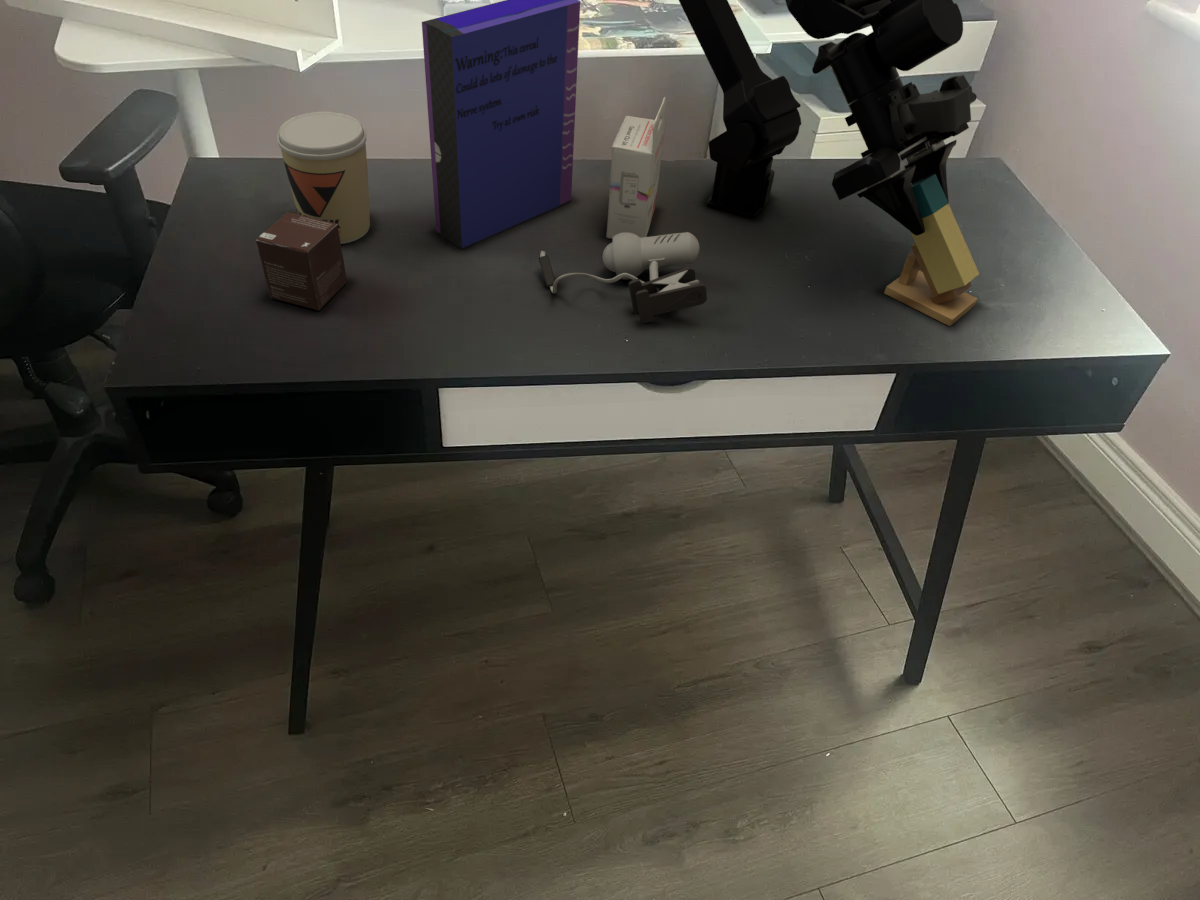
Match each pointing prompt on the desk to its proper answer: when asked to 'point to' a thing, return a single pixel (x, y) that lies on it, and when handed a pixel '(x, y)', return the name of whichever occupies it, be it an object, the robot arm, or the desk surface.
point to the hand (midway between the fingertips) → (933, 225)
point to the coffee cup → (328, 170)
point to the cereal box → (501, 114)
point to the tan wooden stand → (928, 292)
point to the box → (302, 260)
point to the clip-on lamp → (649, 253)
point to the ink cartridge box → (635, 174)
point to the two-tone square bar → (941, 239)
